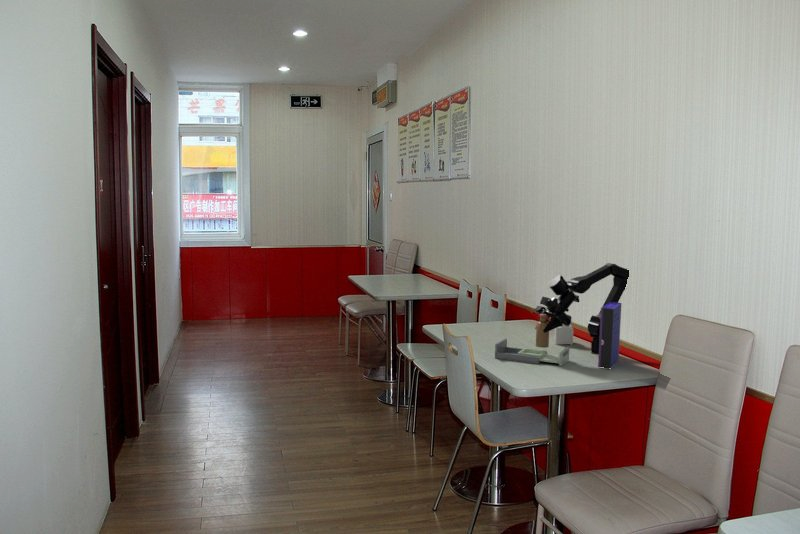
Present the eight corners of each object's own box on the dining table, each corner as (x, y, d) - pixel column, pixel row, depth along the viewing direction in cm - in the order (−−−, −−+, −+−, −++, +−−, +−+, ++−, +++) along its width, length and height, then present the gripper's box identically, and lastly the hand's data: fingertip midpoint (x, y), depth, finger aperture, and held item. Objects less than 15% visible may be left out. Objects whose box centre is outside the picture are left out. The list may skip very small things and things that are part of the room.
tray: (569, 359, 280) (570, 347, 279) (562, 365, 269) (562, 353, 269) (525, 354, 288) (525, 342, 288) (516, 359, 278) (517, 347, 278)
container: (570, 341, 317) (571, 313, 315) (572, 345, 309) (574, 316, 307) (553, 340, 317) (554, 313, 316) (555, 344, 310) (556, 316, 308)
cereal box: (606, 358, 284) (609, 301, 282) (618, 360, 282) (621, 302, 280) (598, 367, 269) (600, 307, 266) (610, 369, 267) (613, 308, 264)
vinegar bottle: (547, 344, 285) (548, 313, 283) (549, 347, 280) (550, 315, 278) (534, 344, 285) (535, 313, 284) (536, 347, 280) (538, 315, 278)
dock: (546, 357, 284) (547, 343, 284) (538, 363, 274) (538, 349, 273) (504, 352, 293) (505, 338, 292) (494, 358, 282) (495, 343, 281)
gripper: (539, 286, 290) (516, 313, 287) (566, 293, 273) (542, 322, 270) (553, 304, 294) (531, 331, 291) (581, 311, 277) (557, 340, 274)
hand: (539, 330), depth 281 cm, fingers closed on vinegar bottle, 5 cm apart
